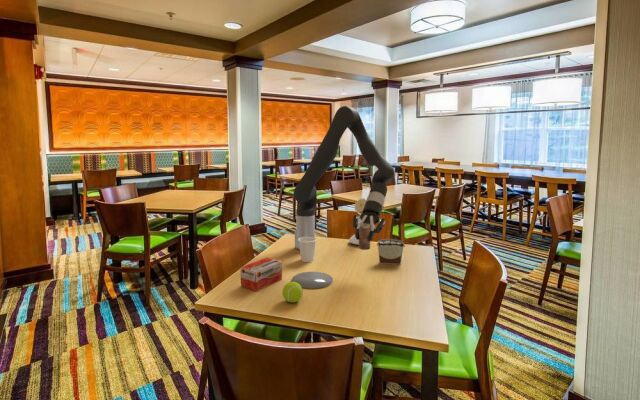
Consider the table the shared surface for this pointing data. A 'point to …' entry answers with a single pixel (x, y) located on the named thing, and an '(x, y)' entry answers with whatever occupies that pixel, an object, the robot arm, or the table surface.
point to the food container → (390, 251)
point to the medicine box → (261, 274)
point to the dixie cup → (307, 248)
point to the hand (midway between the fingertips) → (363, 239)
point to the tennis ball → (292, 292)
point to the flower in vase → (359, 207)
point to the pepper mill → (364, 236)
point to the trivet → (313, 280)
